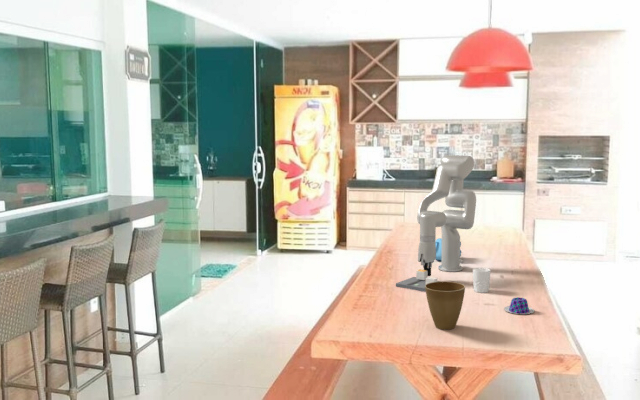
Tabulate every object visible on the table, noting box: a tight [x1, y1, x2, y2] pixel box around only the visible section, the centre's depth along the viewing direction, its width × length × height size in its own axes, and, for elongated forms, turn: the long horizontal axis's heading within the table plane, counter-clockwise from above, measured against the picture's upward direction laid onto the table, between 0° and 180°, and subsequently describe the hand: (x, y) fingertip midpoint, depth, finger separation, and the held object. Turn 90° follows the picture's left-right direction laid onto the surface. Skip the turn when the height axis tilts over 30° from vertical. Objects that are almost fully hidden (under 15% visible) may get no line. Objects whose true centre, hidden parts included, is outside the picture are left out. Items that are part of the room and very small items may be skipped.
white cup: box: [472, 267, 491, 294], centre depth 291 cm, size 8×8×10 cm
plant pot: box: [425, 281, 466, 331], centre depth 240 cm, size 15×15×16 cm
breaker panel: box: [395, 276, 442, 293], centre depth 299 cm, size 16×24×2 cm, turn 50°
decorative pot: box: [435, 237, 462, 261], centre depth 357 cm, size 16×16×14 cm
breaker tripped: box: [415, 269, 429, 280], centre depth 306 cm, size 3×4×4 cm
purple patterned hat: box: [503, 296, 536, 315], centre depth 260 cm, size 12×12×5 cm
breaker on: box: [426, 276, 438, 284], centre depth 292 cm, size 3×4×4 cm
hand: (427, 275), depth 310 cm, fingers closed
